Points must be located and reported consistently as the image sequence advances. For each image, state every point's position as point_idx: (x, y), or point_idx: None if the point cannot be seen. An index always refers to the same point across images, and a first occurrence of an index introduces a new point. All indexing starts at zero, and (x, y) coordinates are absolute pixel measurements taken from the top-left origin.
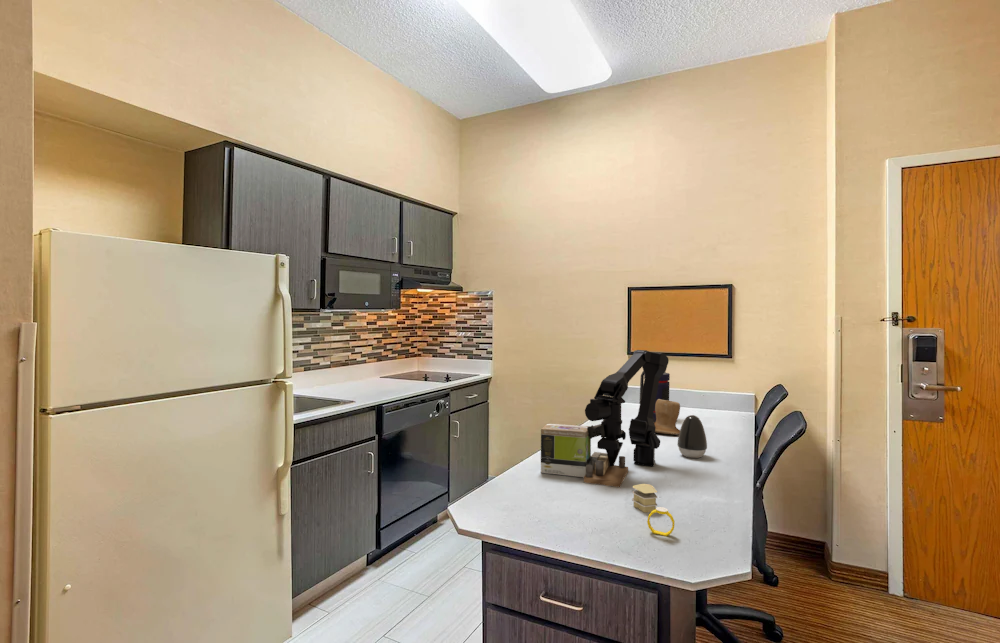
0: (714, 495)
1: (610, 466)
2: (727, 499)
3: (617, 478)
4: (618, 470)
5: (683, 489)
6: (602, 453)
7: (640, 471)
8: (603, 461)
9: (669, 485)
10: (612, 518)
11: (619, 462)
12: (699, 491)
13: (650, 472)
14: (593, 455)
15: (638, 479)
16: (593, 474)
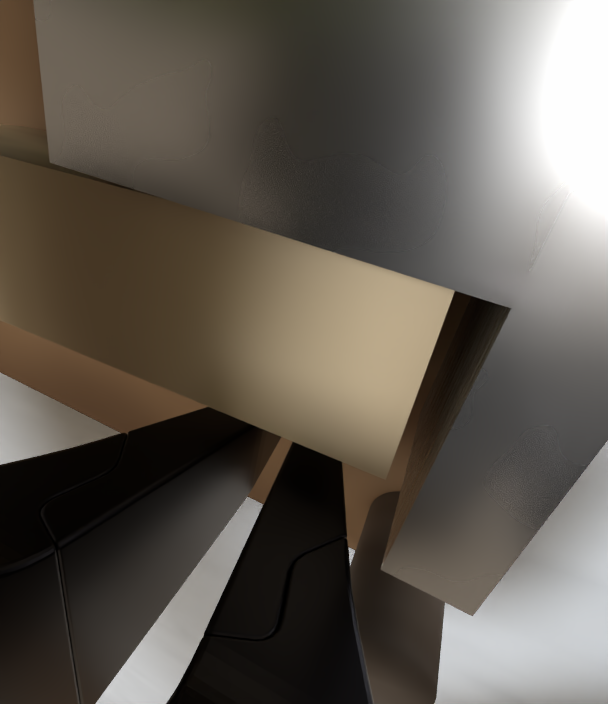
0: (127, 696)
1: (427, 398)
2: (107, 701)
3: (45, 366)
4: (277, 446)
5: (147, 648)
6: (515, 382)
7: (462, 643)
8: (7, 289)
9: (179, 629)
10: None
11: (375, 550)
12: (149, 684)
13: (437, 691)
14: (196, 9)
15: (230, 529)
16: (32, 104)
